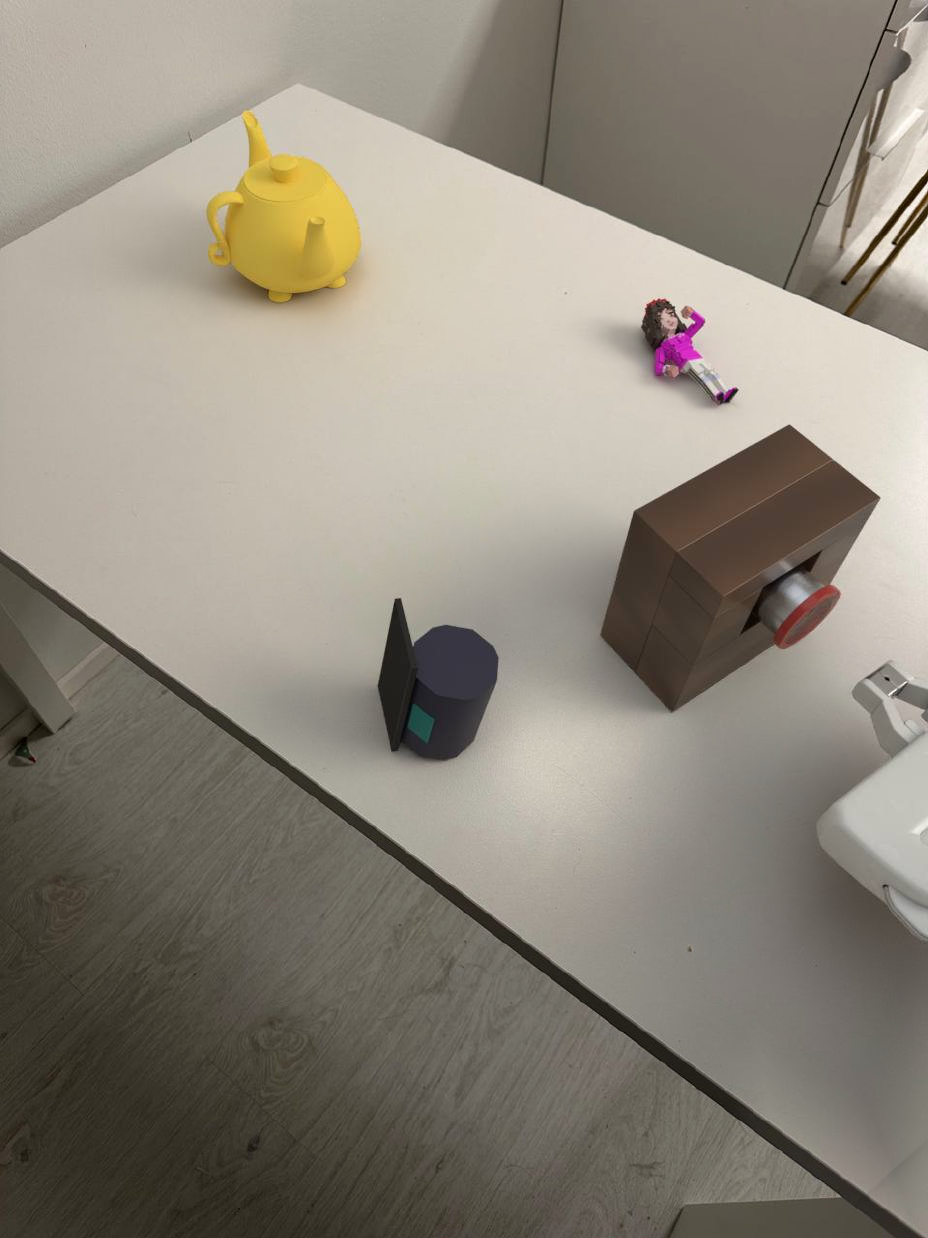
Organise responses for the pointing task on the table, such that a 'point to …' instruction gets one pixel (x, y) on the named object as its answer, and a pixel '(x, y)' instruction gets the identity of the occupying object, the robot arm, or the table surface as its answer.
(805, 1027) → the table surface
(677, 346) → the character figurine
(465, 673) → the speaker
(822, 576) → the control box
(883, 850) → the robot arm
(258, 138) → the teapot
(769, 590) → the knob
